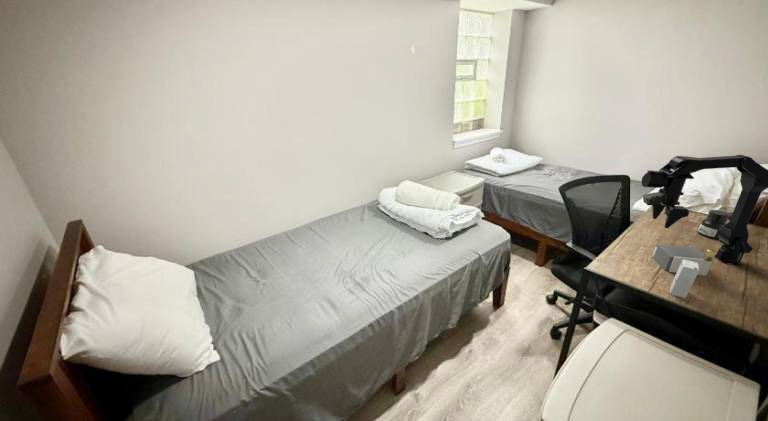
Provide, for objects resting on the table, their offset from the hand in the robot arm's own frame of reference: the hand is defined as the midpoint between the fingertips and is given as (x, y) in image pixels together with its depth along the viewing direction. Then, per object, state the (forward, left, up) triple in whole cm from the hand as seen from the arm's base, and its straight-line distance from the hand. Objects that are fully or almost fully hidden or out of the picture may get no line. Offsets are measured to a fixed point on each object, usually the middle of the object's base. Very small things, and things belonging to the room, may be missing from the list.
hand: (660, 223), depth 131 cm
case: (-6, +9, -15) cm, 18 cm away
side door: (-6, +15, -14) cm, 21 cm away
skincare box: (+4, +29, -15) cm, 33 cm away
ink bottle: (-36, -25, -15) cm, 47 cm away
